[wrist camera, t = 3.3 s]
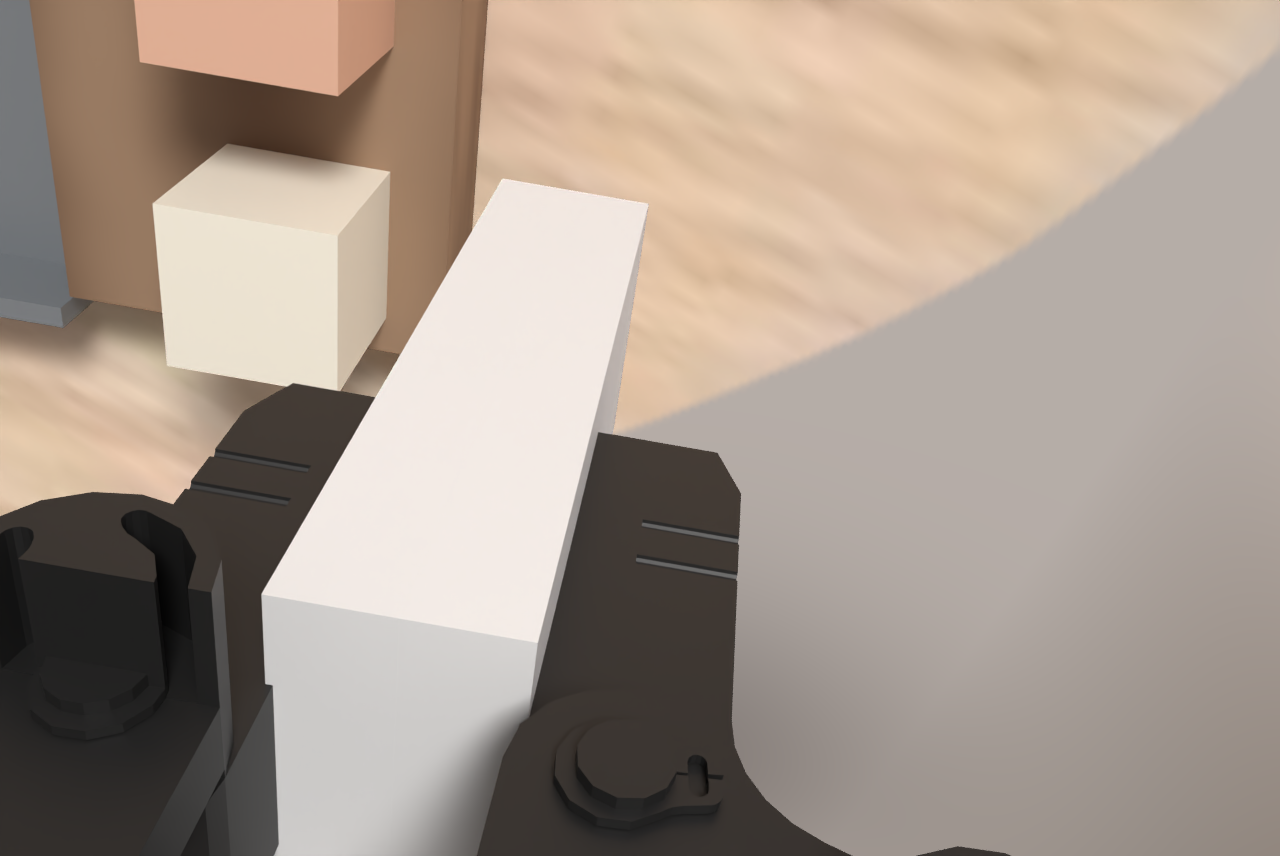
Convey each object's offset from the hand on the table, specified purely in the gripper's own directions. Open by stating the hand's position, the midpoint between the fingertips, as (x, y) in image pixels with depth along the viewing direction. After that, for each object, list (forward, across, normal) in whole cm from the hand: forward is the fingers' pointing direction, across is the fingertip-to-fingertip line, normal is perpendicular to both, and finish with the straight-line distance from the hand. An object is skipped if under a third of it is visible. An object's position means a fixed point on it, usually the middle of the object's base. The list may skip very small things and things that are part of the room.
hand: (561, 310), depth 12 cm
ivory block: (+15, -8, -7) cm, 19 cm away
